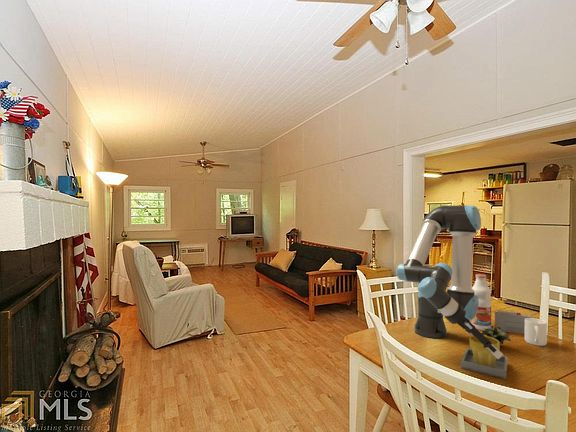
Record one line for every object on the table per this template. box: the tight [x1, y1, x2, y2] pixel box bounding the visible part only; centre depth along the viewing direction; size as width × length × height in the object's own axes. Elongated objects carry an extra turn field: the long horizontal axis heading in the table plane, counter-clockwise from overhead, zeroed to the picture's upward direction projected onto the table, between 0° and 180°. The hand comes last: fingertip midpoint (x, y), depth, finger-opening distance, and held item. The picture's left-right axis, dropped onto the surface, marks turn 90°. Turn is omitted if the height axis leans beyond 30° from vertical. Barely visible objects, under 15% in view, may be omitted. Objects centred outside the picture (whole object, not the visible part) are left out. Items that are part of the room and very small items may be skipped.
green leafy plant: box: [481, 325, 512, 345], centre depth 148 cm, size 11×11×12 cm
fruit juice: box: [470, 273, 492, 331], centre depth 173 cm, size 9×9×28 cm
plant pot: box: [469, 335, 501, 367], centre depth 130 cm, size 10×10×10 cm
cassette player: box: [494, 310, 534, 335], centre depth 167 cm, size 16×3×10 cm, turn 63°
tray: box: [460, 347, 509, 380], centre depth 130 cm, size 15×15×3 cm
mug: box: [524, 317, 548, 347], centre depth 151 cm, size 12×8×10 cm
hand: (490, 349), depth 130 cm, fingers open, 13 cm apart
